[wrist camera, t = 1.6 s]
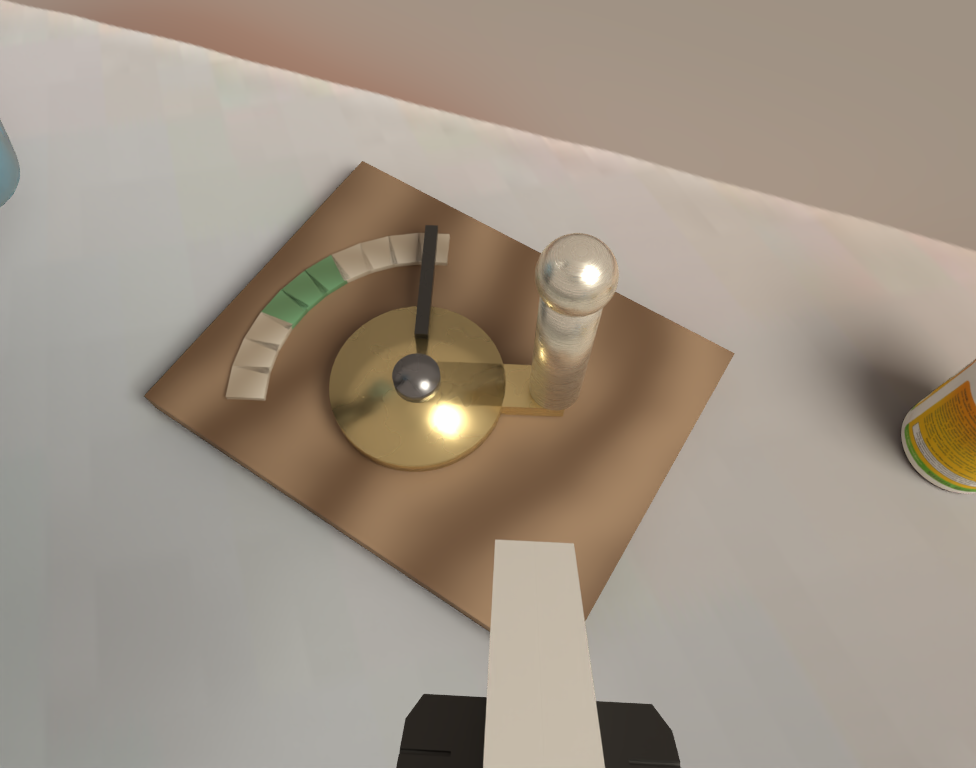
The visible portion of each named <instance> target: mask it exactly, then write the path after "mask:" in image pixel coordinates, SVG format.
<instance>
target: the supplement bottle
mask: <svg viewBox="0 0 976 768" xmlns="http://www.w3.org/2000/svg"><path fill="white" fill-rule="evenodd" d="M901 439H902V444H903V448H904V451H905V453H906V456H907V458H908V459H909V461H910V463H911V464H912V466H913V467H914V468H915V469H916V470H917V471H918V472H919V474H921V475H922V476H923V477H924V478H925V479H927V480H928V481H930V482H931V483H933V484H934V485H936V486H938V487H940V488H943V489H945V490H948V491H951V492H956V493H963V494H973V493H976V359H975V360H974V361H972V362H971V363H970V364H968V365H967V366H966V367H964V368H963V369H962V370H961V371H959V372H958V373H957V374H955V375H954V376H953V377H951V378H950V379H949V380H947V381H946V382H945V383H943V384H942V385H941V386H939V387H938V388H937V389H936V390H934V391H933V392H931V393H930V394H929V395H927V396H926V397H925V398H924V399H922V400H921V401H920V402H918V403H917V404H916V405H915V406H914V407H913V408H912V409H911V410H910V411H909V412H908V413H907V415H906V417H905V419H904V421H903V424H902V429H901Z"/></svg>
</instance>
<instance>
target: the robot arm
mask: <svg viewBox="0 0 976 768" xmlns="http://www.w3.org/2000/svg"><path fill="white" fill-rule="evenodd" d="M19 179H20V168H19V162H18V159H17V156H16V153H15V151H14V149H13V146H12V144H11V142H10V140H9V137H8V135H7V133H6V131H5V129H4V127H3V124H2V122H1V120H0V207H1V206H2V205H4V204H5V202H6V201H7V200H9V199H10V198H11V196H12V195H13V194H14V192H15V189H16V187H17V185H18V182H19ZM396 768H680V759H679V756H678V752H677V748H676V744H675V740H674V736H673V733H672V730H671V729H670V728H669V726H668V725H667V724H666V722H665V721H664V720H663V718H662V717H661V716H660V714H659V713H658V712H657V710H656V709H655V708H654V706H653V705H652V704H637V703H619V702H600V701H596V699H595V692H594V684H593V677H592V670H591V663H590V656H589V649H588V641H587V634H586V627H585V620H584V613H583V605H582V598H581V591H580V584H579V577H578V569H577V562H576V555H575V548H574V543H556V542H534V541H515V540H495V553H494V572H493V591H492V610H491V628H490V647H489V666H488V685H487V697H470V696H451V695H433V694H423V696H422V697H421V698H420V700H419V701H418V703H417V704H416V705H415V707H414V708H413V709H412V711H411V712H410V713H409V715H408V716H407V718H406V720H405V725H404V730H403V735H402V741H401V746H400V754H399V757H398V762H397V767H396Z"/></svg>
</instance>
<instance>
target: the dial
mask: <svg viewBox="0 0 976 768" xmlns="http://www.w3.org/2000/svg"><path fill="white" fill-rule="evenodd" d="M437 241H438V225H425V234H424V244H423V253H422V263H421V273H420V283H419V292H418V302H417V306H412V307H405V308H400V309H396V310H392V311H389V312H386V313H384V314H381V315H379V316H377V317H375V318H373V319H371V320H370V321H368V322H367V323H365V324H364V325H362V326H361V327H360V328H359V329H358V330H356V331H355V332H354V333H353V334H352V335H351V336H350V337H349V339H348V340H347V341H346V342H345V344H344V345H343V346H342V348H341V349H340V351H339V353H338V355H337V357H336V359H335V362H334V364H333V367H332V371H331V375H330V382H329V396H330V403H331V407H332V411H333V413H334V416H335V419H336V421H337V423H338V425H339V427H340V429H341V430H342V432H343V434H344V436H345V437H346V438H347V440H348V441H349V442H350V444H351V445H352V446H353V447H354V448H355V449H356V450H357V451H358V452H360V453H361V454H362V455H364V456H365V457H366V458H368V459H370V460H372V461H373V462H375V463H377V464H379V465H382V466H385V467H387V468H391V469H395V470H399V471H408V472H424V471H431V470H436V469H440V468H444V467H447V466H450V465H452V464H454V463H457V462H459V461H461V460H462V459H464V458H466V457H468V456H469V455H470V454H472V453H473V452H474V451H476V450H477V449H478V448H479V447H480V446H481V445H482V444H483V443H484V442H485V441H486V440H487V438H488V437H489V436H490V435H491V433H492V432H493V430H494V428H495V427H496V425H497V423H498V421H499V418H500V416H501V414H504V415H528V416H552V417H563V414H564V410H565V409H566V408H568V407H570V406H571V405H573V404H574V403H575V402H576V400H577V399H578V397H579V394H580V391H581V387H582V383H583V380H584V376H585V372H586V369H587V365H588V361H589V358H590V354H591V350H592V347H593V343H594V339H595V336H596V332H597V328H598V325H599V321H600V317H601V313H602V310H603V307H604V306H605V305H606V304H608V302H609V301H610V300H611V298H612V297H613V295H614V293H615V291H616V288H617V284H618V279H619V271H618V265H617V261H616V258H615V256H614V254H613V253H612V251H611V250H610V248H609V247H608V246H607V245H606V244H605V243H604V242H602V241H601V240H599V239H598V238H596V237H594V236H591V235H588V234H583V233H573V234H567V235H564V236H561V237H559V238H557V239H555V240H554V241H552V242H551V243H550V244H549V245H548V246H547V247H546V248H545V249H544V250H543V252H542V253H541V255H540V257H539V259H538V261H537V264H536V268H535V284H536V288H537V291H538V293H539V295H540V299H539V308H538V316H537V324H536V333H535V341H534V349H533V358H532V365H515V364H503V362H502V359H501V356H500V354H499V352H498V350H497V348H496V346H495V344H494V343H493V341H492V340H491V338H490V337H489V336H488V335H487V334H486V333H485V332H484V331H483V330H482V329H481V328H480V327H479V326H478V325H477V324H475V323H474V322H472V321H471V320H469V319H468V318H466V317H464V316H462V315H460V314H458V313H455V312H452V311H449V310H447V309H442V308H437V307H431V306H432V295H433V284H434V273H435V263H436V252H437Z"/></svg>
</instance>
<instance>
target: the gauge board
mask: <svg viewBox="0 0 976 768" xmlns="http://www.w3.org/2000/svg"><path fill="white" fill-rule="evenodd" d="M425 225H438V241H437V252H436V263H435V273H434V284H433V295H432V306H431V307H437V308H442V309H447V310H449V311H452V312H455V313H458V314H460V315H462V316H464V317H466V318H468V319H469V320H471V321H472V322H474V323H475V324H477V325H478V326H479V327H480V328H481V329H482V330H483V331H484V332H485V333H486V334H487V335H488V336H489V337H490V338H491V340H492V341H493V343H494V344H495V346H496V348H497V350H498V352H499V354H500V356H501V359H502V362H503V364H515V365H532V358H533V349H534V341H535V333H536V324H537V316H538V308H539V299H540V295H539V293H538V291H537V288H536V284H535V268H536V264H537V261H538V259H539V257H540V255H541V253H539V252H537V251H535V250H533V249H531V248H530V247H528V246H526V245H524V244H522V243H520V242H518V241H516V240H514V239H512V238H510V237H508V236H506V235H504V234H502V233H501V232H499V231H497V230H495V229H493V228H491V227H489V226H487V225H485V224H483V223H481V222H479V221H477V220H475V219H473V218H472V217H470V216H468V215H466V214H464V213H462V212H460V211H458V210H456V209H454V208H452V207H450V206H448V205H446V204H444V203H443V202H441V201H439V200H437V199H435V198H433V197H431V196H429V195H427V194H425V193H423V192H421V191H419V190H417V189H415V188H413V187H412V186H410V185H408V184H406V183H404V182H402V181H400V180H398V179H396V178H394V177H392V176H390V175H388V174H386V173H384V172H383V171H381V170H379V169H377V168H375V167H373V166H371V165H369V164H367V163H365V162H363V161H362V162H361V163H360V164H359V165H358V166H357V168H356V169H355V170H354V171H353V172H352V173H351V174H350V175H349V176H348V177H347V178H346V179H345V180H344V181H343V183H342V184H341V185H340V186H339V187H338V188H337V189H336V190H335V191H334V192H333V193H332V194H331V195H330V197H329V198H328V199H327V200H326V201H325V202H324V203H323V204H322V205H321V206H320V207H319V208H318V209H317V211H316V212H315V213H314V214H313V215H312V216H311V217H310V218H309V219H308V220H307V221H306V222H305V223H304V225H303V226H302V227H301V228H300V229H299V230H298V231H297V232H296V233H295V234H294V235H293V236H292V237H291V239H290V240H289V241H288V242H287V243H286V244H285V245H284V246H283V247H282V248H281V249H280V250H279V251H278V252H277V254H276V255H275V256H274V257H273V258H272V259H271V260H270V261H269V262H268V263H267V264H266V265H265V266H264V268H263V269H262V270H261V271H260V272H259V273H258V274H257V275H256V276H255V277H254V278H253V279H252V280H251V282H250V283H249V284H248V285H247V286H246V287H245V288H244V289H243V290H242V291H241V292H240V293H239V294H238V296H237V297H236V298H235V299H234V300H233V301H232V302H231V303H230V304H229V305H228V306H227V307H226V308H225V309H224V311H223V312H222V313H221V314H220V315H219V316H218V317H217V318H216V319H215V320H214V321H213V322H212V323H211V325H210V326H209V327H208V328H207V329H206V330H205V331H204V332H203V333H202V334H201V335H200V336H199V337H198V339H197V340H196V341H195V342H194V343H193V344H192V345H191V346H190V347H189V348H188V349H187V350H186V351H185V353H184V354H183V355H182V356H181V357H180V358H179V359H178V360H177V361H176V362H175V363H174V364H173V365H172V366H171V368H170V369H169V370H168V371H167V372H166V373H165V374H164V375H163V376H162V377H161V378H160V379H159V380H158V382H157V383H156V384H155V385H154V386H153V387H152V388H151V389H150V390H149V391H148V392H147V393H146V394H145V397H146V398H147V399H148V400H149V401H150V402H151V403H152V404H153V405H154V406H155V407H156V408H157V409H159V410H160V411H162V412H163V413H165V414H166V415H168V416H169V417H171V418H172V419H174V420H175V421H177V422H178V423H180V424H181V425H183V426H184V427H186V428H187V429H189V430H190V431H192V432H193V433H195V434H196V435H197V436H199V437H200V438H202V439H203V440H205V441H206V442H208V443H209V444H211V445H212V446H214V447H215V448H217V449H218V450H220V451H221V452H223V453H224V454H226V455H227V456H229V457H230V458H232V459H233V460H235V461H236V462H238V463H239V464H241V465H242V466H244V467H245V468H247V469H248V470H250V471H251V472H253V473H254V474H256V475H257V476H259V477H260V478H262V479H263V480H265V481H266V482H267V483H269V484H270V485H272V486H273V487H275V488H276V489H278V490H279V491H281V492H282V493H284V494H285V495H287V496H288V497H290V498H291V499H293V500H294V501H296V502H297V503H299V504H300V505H302V506H303V507H305V508H306V509H308V510H309V511H311V512H312V513H314V514H315V515H317V516H318V517H320V518H321V519H323V520H324V521H326V522H327V523H329V524H330V525H332V526H333V527H335V528H336V529H337V530H339V531H340V532H342V533H343V534H345V535H346V536H348V537H349V538H351V539H352V540H354V541H355V542H357V543H358V544H360V545H361V546H363V547H364V548H366V549H367V550H369V551H370V552H372V553H373V554H375V555H376V556H378V557H379V558H381V559H382V560H384V561H385V562H387V563H388V564H390V565H391V566H393V567H394V568H396V569H397V570H399V571H400V572H402V573H403V574H405V575H406V576H407V577H409V578H410V579H412V580H413V581H415V582H416V583H418V584H419V585H421V586H422V587H424V588H425V589H427V590H428V591H430V592H431V593H433V594H434V595H436V596H437V597H439V598H440V599H442V600H443V601H445V602H446V603H448V604H449V605H451V606H452V607H454V608H455V609H457V610H458V611H460V612H461V613H463V614H464V615H466V616H467V617H469V618H470V619H472V620H473V621H475V622H476V623H477V624H479V625H480V626H482V627H483V628H485V629H486V630H488V631H489V632H490V628H491V610H492V591H493V572H494V553H495V540H515V541H534V542H556V543H574V548H575V555H576V562H577V569H578V577H579V584H580V591H581V598H582V605H583V613H584V620H586V619H587V617H588V615H589V613H590V612H591V610H592V608H593V606H594V604H595V603H596V601H597V599H598V597H599V595H600V594H601V592H602V590H603V588H604V586H605V585H606V583H607V581H608V579H609V577H610V576H611V574H612V572H613V570H614V568H615V567H616V565H617V563H618V561H619V560H620V558H621V556H622V554H623V552H624V551H625V549H626V547H627V545H628V543H629V542H630V540H631V538H632V536H633V534H634V533H635V531H636V529H637V527H638V525H639V524H640V522H641V520H642V518H643V517H644V515H645V513H646V511H647V509H648V508H649V506H650V504H651V502H652V500H653V499H654V497H655V495H656V493H657V491H658V490H659V488H660V486H661V484H662V482H663V481H664V479H665V477H666V475H667V473H668V472H669V470H670V468H671V466H672V465H673V463H674V461H675V459H676V457H677V456H678V454H679V452H680V450H681V448H682V447H683V445H684V443H685V441H686V439H687V438H688V436H689V434H690V432H691V430H692V429H693V427H694V425H695V423H696V422H697V420H698V418H699V416H700V414H701V413H702V411H703V409H704V407H705V405H706V404H707V402H708V400H709V398H710V396H711V395H712V393H713V391H714V389H715V387H716V386H717V384H718V382H719V380H720V378H721V377H722V375H723V373H724V371H725V370H726V368H727V366H728V364H729V362H730V361H731V359H732V357H733V355H734V353H733V352H731V351H729V350H727V349H725V348H723V347H721V346H719V345H717V344H715V343H713V342H711V341H709V340H707V339H705V338H704V337H702V336H700V335H698V334H696V333H694V332H692V331H690V330H688V329H686V328H684V327H682V326H680V325H678V324H676V323H675V322H673V321H671V320H669V319H667V318H665V317H663V316H661V315H659V314H657V313H655V312H653V311H651V310H649V309H647V308H646V307H644V306H642V305H640V304H638V303H636V302H634V301H632V300H630V299H628V298H626V297H624V296H622V295H620V294H618V293H617V292H615V293H614V295H613V297H612V298H611V300H610V301H609V302H608V304H606V305H605V306H604V307H603V310H602V313H601V317H600V321H599V325H598V328H597V332H596V336H595V339H594V343H593V347H592V350H591V354H590V358H589V361H588V365H587V369H586V372H585V376H584V380H583V383H582V387H581V391H580V394H579V397H578V399H577V400H576V402H575V403H574V404H573V405H571V406H570V407H568V408H566V409H565V410H564V414H563V417H552V416H528V415H504V414H501V416H500V418H499V421H498V423H497V425H496V427H495V428H494V430H493V432H492V433H491V435H490V436H489V437H488V438H487V440H486V441H485V442H484V443H483V444H482V445H481V446H480V447H479V448H478V449H477V450H476V451H474V452H473V453H472V454H470V455H469V456H468V457H466V458H464V459H462V460H461V461H459V462H457V463H454V464H452V465H450V466H447V467H444V468H440V469H436V470H431V471H424V472H408V471H399V470H395V469H391V468H387V467H385V466H382V465H379V464H377V463H375V462H373V461H372V460H370V459H368V458H366V457H365V456H364V455H362V454H361V453H360V452H358V451H357V450H356V449H355V448H354V447H353V446H352V445H351V444H350V442H349V441H348V440H347V438H346V437H345V436H344V434H343V432H342V430H341V429H340V427H339V425H338V423H337V421H336V419H335V416H334V413H333V411H332V407H331V403H330V396H329V382H330V375H331V371H332V367H333V364H334V362H335V359H336V357H337V355H338V353H339V351H340V349H341V348H342V346H343V345H344V344H345V342H346V341H347V340H348V339H349V337H350V336H351V335H352V334H353V333H354V332H355V331H356V330H358V329H359V328H360V327H361V326H362V325H364V324H365V323H367V322H368V321H370V320H371V319H373V318H375V317H377V316H379V315H381V314H384V313H386V312H389V311H392V310H396V309H400V308H405V307H412V306H417V302H418V292H419V283H420V273H421V263H422V253H423V244H424V234H425Z"/></svg>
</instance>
